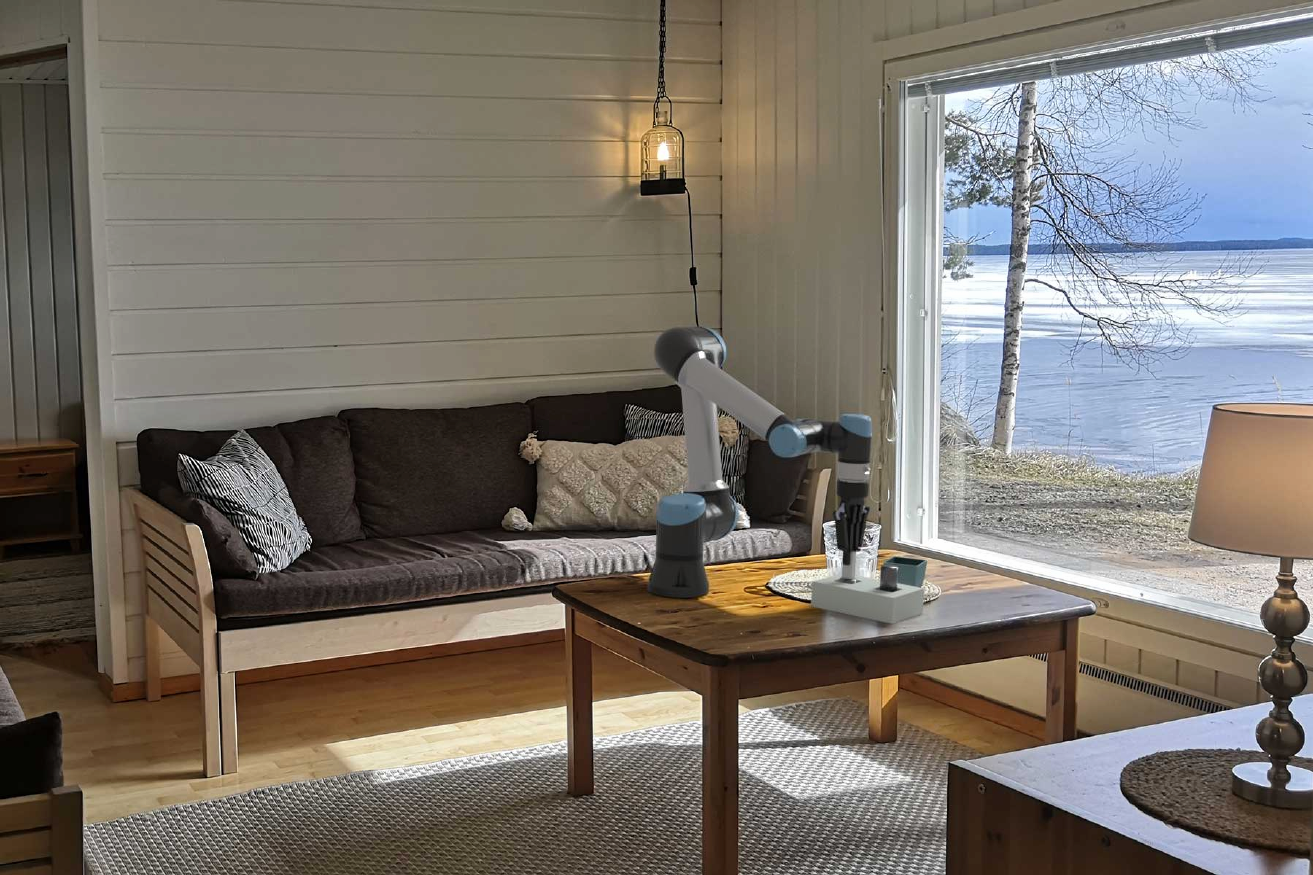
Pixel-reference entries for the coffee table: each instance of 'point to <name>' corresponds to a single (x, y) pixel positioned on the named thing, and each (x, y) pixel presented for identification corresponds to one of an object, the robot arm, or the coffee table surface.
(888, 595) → the peg block
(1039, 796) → the coffee table surface
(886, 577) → the right peg
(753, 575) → the coffee table surface
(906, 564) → the flower pot
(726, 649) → the coffee table surface
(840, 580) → the left peg
